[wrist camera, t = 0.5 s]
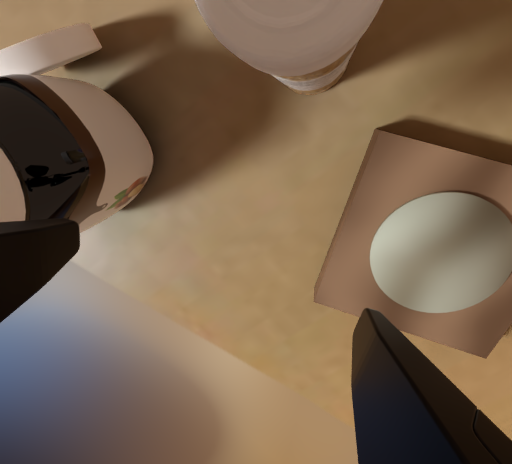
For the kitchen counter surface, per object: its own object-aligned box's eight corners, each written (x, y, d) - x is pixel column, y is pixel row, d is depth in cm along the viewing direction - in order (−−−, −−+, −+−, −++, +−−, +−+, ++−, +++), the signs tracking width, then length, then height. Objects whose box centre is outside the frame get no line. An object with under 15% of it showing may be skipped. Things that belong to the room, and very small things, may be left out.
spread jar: (105, 231, 26) (-47, 313, 15) (4, 123, 24) (-246, 131, 14) (201, 137, 21) (80, 160, 11) (85, -5, 20) (-194, -142, 9)
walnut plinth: (579, 183, 18) (613, 192, 16) (472, 338, 23) (488, 361, 20) (375, 128, 19) (381, 130, 17) (314, 287, 24) (313, 304, 22)
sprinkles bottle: (282, 3, 18) (187, -246, 5) (362, 16, 17) (457, -229, 5) (267, 89, 19) (169, 49, 7) (339, 103, 19) (365, 85, 7)
